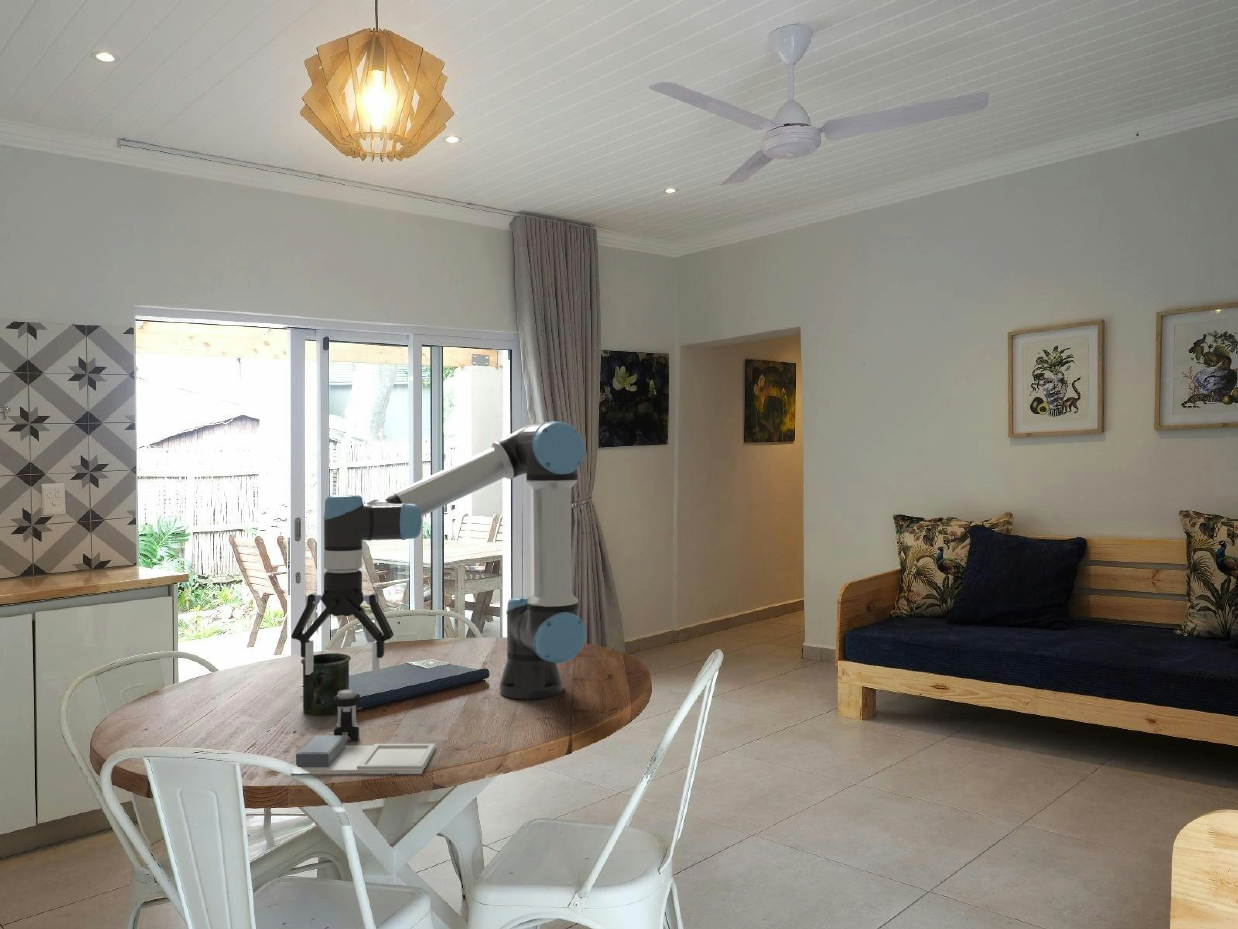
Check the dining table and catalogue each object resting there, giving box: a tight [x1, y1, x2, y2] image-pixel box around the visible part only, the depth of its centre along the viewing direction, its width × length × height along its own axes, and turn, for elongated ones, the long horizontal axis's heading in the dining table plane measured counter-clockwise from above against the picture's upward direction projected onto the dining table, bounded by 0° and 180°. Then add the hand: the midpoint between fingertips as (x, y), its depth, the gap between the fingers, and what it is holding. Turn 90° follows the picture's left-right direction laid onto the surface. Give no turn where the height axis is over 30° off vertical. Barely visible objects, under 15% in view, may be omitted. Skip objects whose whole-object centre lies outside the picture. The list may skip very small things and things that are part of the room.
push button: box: [326, 689, 361, 743], centre depth 188 cm, size 7×5×10 cm
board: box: [301, 743, 437, 775], centre depth 175 cm, size 24×14×1 cm, turn 91°
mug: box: [300, 652, 352, 717], centre depth 208 cm, size 11×15×12 cm
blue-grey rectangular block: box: [295, 734, 346, 767], centre depth 175 cm, size 6×11×3 cm, turn 1°
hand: (342, 673), depth 188 cm, fingers open, 13 cm apart
